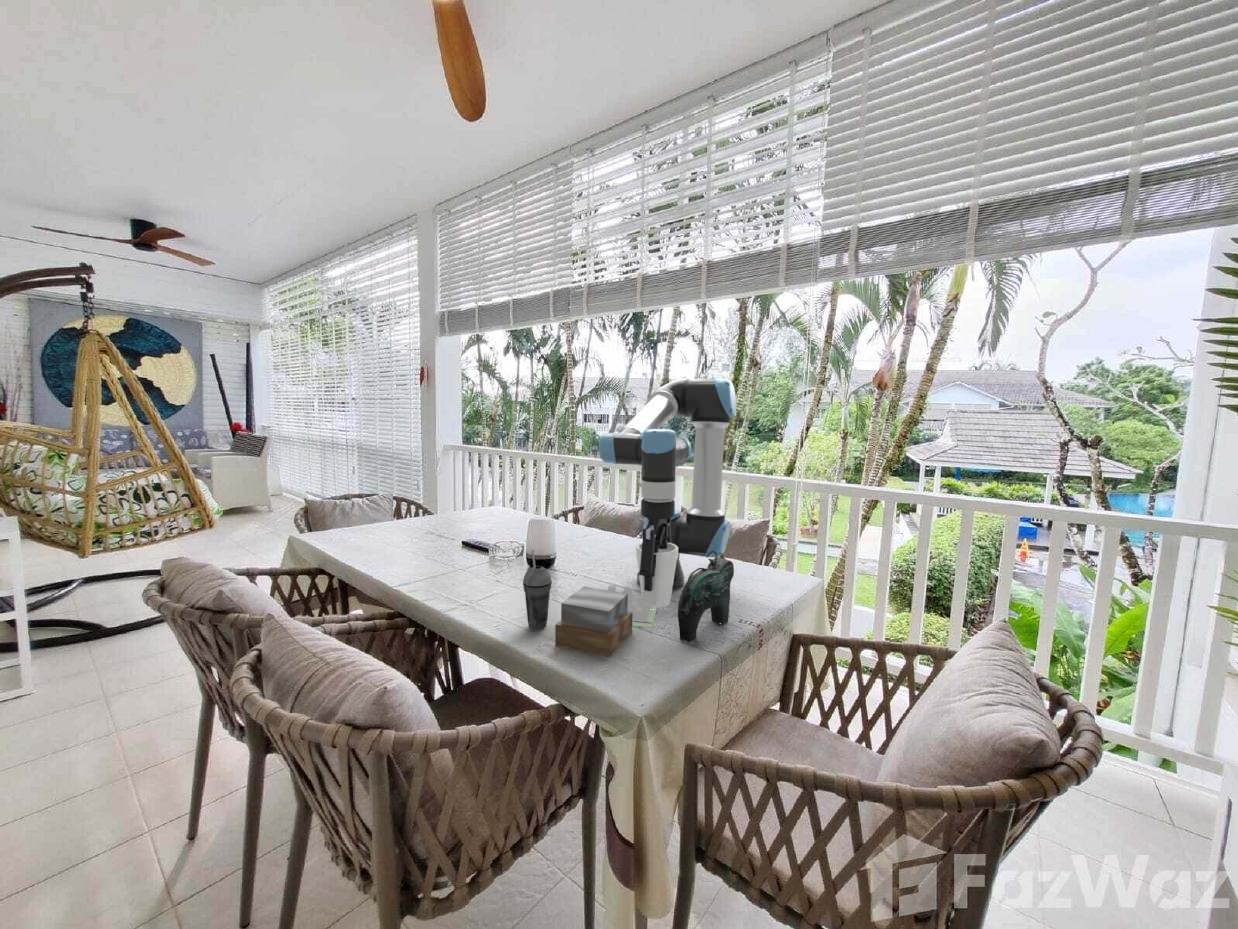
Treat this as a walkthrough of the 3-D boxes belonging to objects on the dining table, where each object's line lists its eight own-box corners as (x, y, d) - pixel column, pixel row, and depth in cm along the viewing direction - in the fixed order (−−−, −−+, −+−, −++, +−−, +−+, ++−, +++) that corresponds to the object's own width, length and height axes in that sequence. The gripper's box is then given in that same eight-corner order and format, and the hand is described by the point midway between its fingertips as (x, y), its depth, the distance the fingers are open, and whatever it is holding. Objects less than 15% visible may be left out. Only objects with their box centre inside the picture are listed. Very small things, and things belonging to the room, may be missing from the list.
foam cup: (628, 605, 112) (629, 549, 110) (645, 591, 120) (646, 539, 118) (667, 613, 108) (668, 555, 106) (682, 599, 116) (684, 544, 114)
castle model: (658, 606, 141) (658, 581, 140) (650, 629, 127) (651, 601, 126) (606, 601, 144) (606, 577, 143) (593, 623, 129) (594, 595, 129)
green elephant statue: (717, 614, 135) (720, 542, 133) (738, 622, 131) (741, 547, 128) (672, 638, 121) (674, 558, 119) (694, 647, 116) (697, 564, 114)
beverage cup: (554, 630, 124) (554, 552, 122) (525, 634, 121) (524, 555, 119) (548, 619, 131) (548, 544, 128) (520, 622, 128) (520, 546, 126)
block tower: (581, 621, 129) (581, 584, 128) (632, 631, 124) (632, 592, 123) (555, 645, 116) (555, 604, 115) (610, 657, 111) (611, 614, 110)
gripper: (656, 489, 122) (655, 577, 125) (624, 507, 102) (623, 611, 105) (686, 491, 119) (684, 581, 122) (659, 510, 99) (657, 617, 102)
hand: (656, 595), depth 114 cm, fingers closed on foam cup, 9 cm apart
